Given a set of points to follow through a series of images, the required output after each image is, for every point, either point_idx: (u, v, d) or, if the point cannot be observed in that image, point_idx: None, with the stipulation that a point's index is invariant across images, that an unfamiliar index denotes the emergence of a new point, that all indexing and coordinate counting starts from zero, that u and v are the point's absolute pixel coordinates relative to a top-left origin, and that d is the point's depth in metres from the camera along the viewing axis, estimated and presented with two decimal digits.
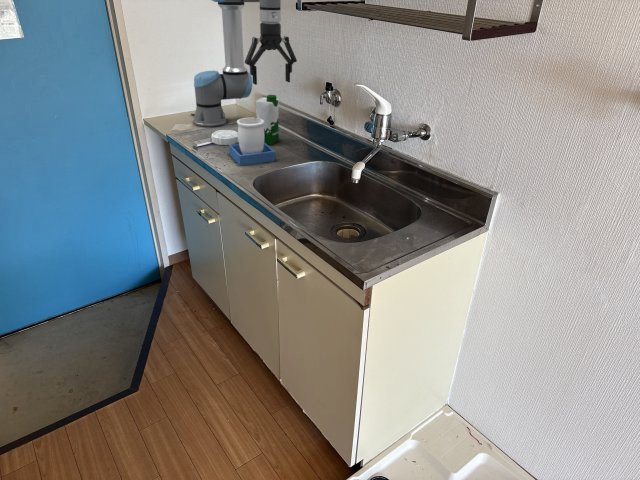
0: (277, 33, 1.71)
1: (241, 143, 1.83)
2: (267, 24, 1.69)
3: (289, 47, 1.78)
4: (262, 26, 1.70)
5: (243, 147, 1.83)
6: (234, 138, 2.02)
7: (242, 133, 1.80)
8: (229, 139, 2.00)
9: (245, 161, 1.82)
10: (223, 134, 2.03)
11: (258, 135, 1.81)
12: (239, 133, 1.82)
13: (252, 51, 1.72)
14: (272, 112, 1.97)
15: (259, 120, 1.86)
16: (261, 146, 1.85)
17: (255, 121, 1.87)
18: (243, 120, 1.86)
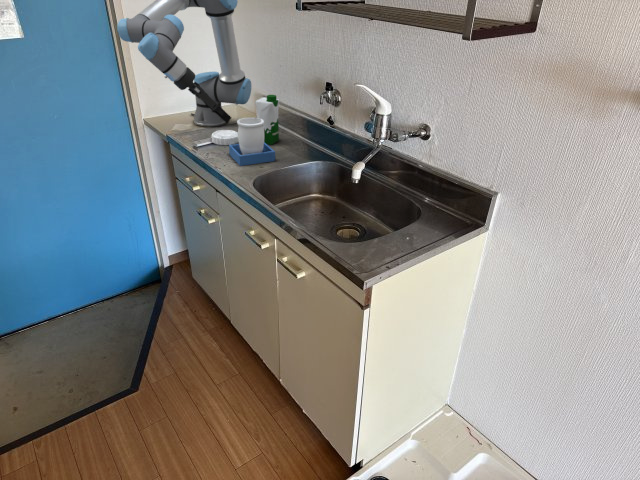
0: (181, 89, 1.64)
1: (241, 143, 1.83)
2: None
3: (201, 98, 1.64)
4: None
5: (243, 147, 1.83)
6: (234, 138, 2.02)
7: (242, 133, 1.80)
8: (229, 139, 2.00)
9: (245, 161, 1.82)
10: (223, 134, 2.03)
11: (258, 135, 1.81)
12: (239, 133, 1.82)
13: None
14: (272, 112, 1.97)
15: (259, 120, 1.86)
16: (261, 146, 1.85)
17: (255, 121, 1.87)
18: (243, 120, 1.86)
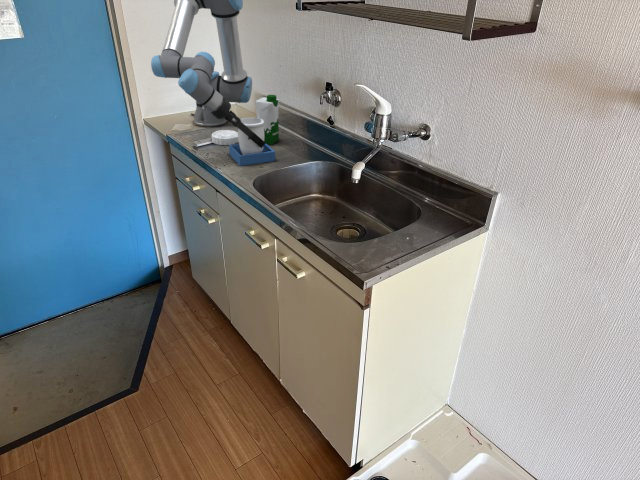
0: (218, 118, 1.75)
1: (241, 143, 1.83)
2: None
3: (238, 127, 1.74)
4: None
5: (243, 147, 1.83)
6: (234, 138, 2.02)
7: (242, 133, 1.80)
8: (229, 139, 2.00)
9: (245, 161, 1.82)
10: (223, 134, 2.03)
11: (258, 135, 1.81)
12: (239, 133, 1.82)
13: None
14: (272, 112, 1.97)
15: (259, 120, 1.86)
16: None
17: (255, 121, 1.87)
18: (243, 120, 1.86)
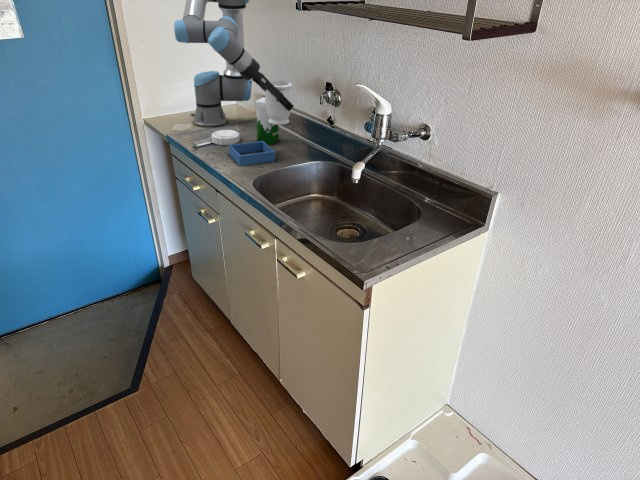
0: (247, 79, 1.73)
1: (269, 106, 1.81)
2: None
3: (267, 88, 1.72)
4: None
5: (271, 110, 1.81)
6: (234, 138, 2.02)
7: (270, 95, 1.78)
8: (229, 139, 2.00)
9: (245, 161, 1.82)
10: (223, 134, 2.03)
11: (286, 98, 1.79)
12: (267, 95, 1.79)
13: None
14: None
15: (287, 83, 1.84)
16: None
17: (282, 84, 1.85)
18: None
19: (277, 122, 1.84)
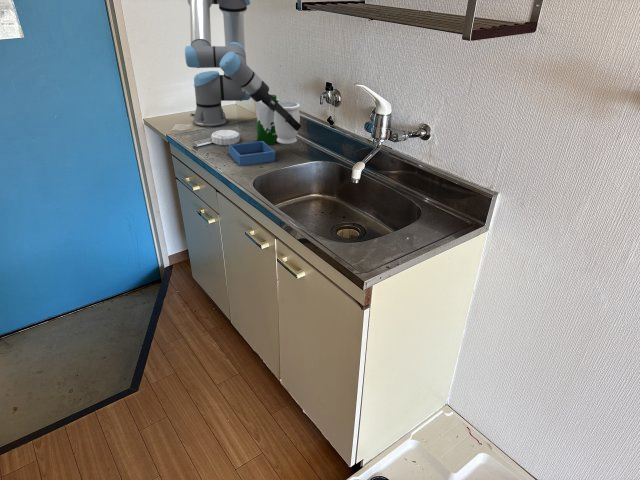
0: (256, 101, 1.78)
1: (277, 126, 1.86)
2: None
3: (276, 110, 1.78)
4: None
5: (279, 130, 1.87)
6: (234, 138, 2.02)
7: (278, 116, 1.84)
8: (229, 139, 2.00)
9: (245, 161, 1.82)
10: (223, 134, 2.03)
11: (294, 118, 1.85)
12: (276, 116, 1.85)
13: None
14: (272, 112, 1.97)
15: (294, 104, 1.89)
16: None
17: (290, 105, 1.90)
18: None
19: (285, 141, 1.89)
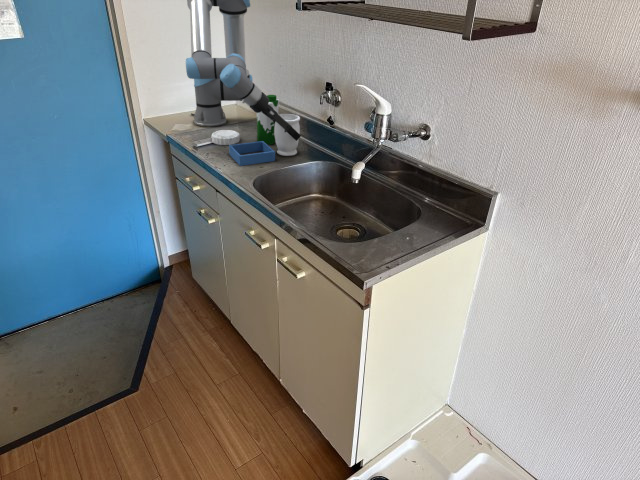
0: (256, 112, 1.80)
1: (278, 139, 1.89)
2: None
3: (275, 120, 1.79)
4: None
5: (279, 142, 1.89)
6: (234, 138, 2.02)
7: (279, 129, 1.86)
8: (229, 139, 2.00)
9: (245, 161, 1.82)
10: (223, 134, 2.03)
11: None
12: (276, 129, 1.88)
13: None
14: None
15: (294, 116, 1.92)
16: (297, 141, 1.91)
17: (290, 117, 1.93)
18: None
19: (286, 153, 1.92)
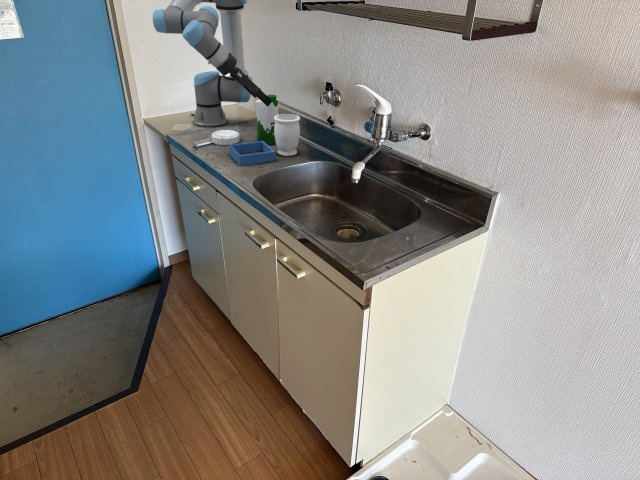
0: (224, 74, 1.68)
1: (278, 139, 1.89)
2: None
3: (243, 83, 1.67)
4: None
5: (279, 142, 1.89)
6: (234, 138, 2.02)
7: (279, 129, 1.86)
8: (229, 139, 2.00)
9: (245, 161, 1.82)
10: (223, 134, 2.03)
11: (294, 131, 1.87)
12: (276, 129, 1.88)
13: None
14: (272, 112, 1.97)
15: (294, 116, 1.92)
16: (297, 141, 1.91)
17: (290, 117, 1.93)
18: (279, 116, 1.92)
19: (286, 153, 1.92)
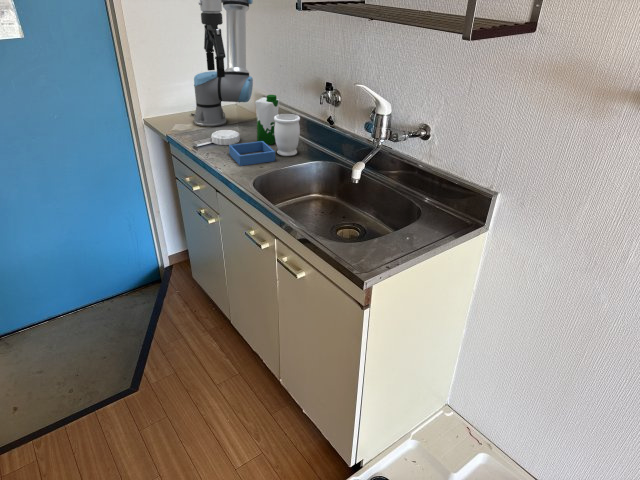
0: (203, 22, 1.69)
1: (278, 139, 1.89)
2: None
3: (215, 40, 1.68)
4: None
5: (279, 142, 1.89)
6: (234, 138, 2.02)
7: (279, 129, 1.86)
8: (229, 139, 2.00)
9: (245, 161, 1.82)
10: (223, 134, 2.03)
11: (294, 131, 1.87)
12: (276, 129, 1.88)
13: None
14: (272, 112, 1.97)
15: (294, 116, 1.92)
16: (297, 141, 1.91)
17: (290, 117, 1.93)
18: (279, 116, 1.92)
19: (286, 153, 1.92)
